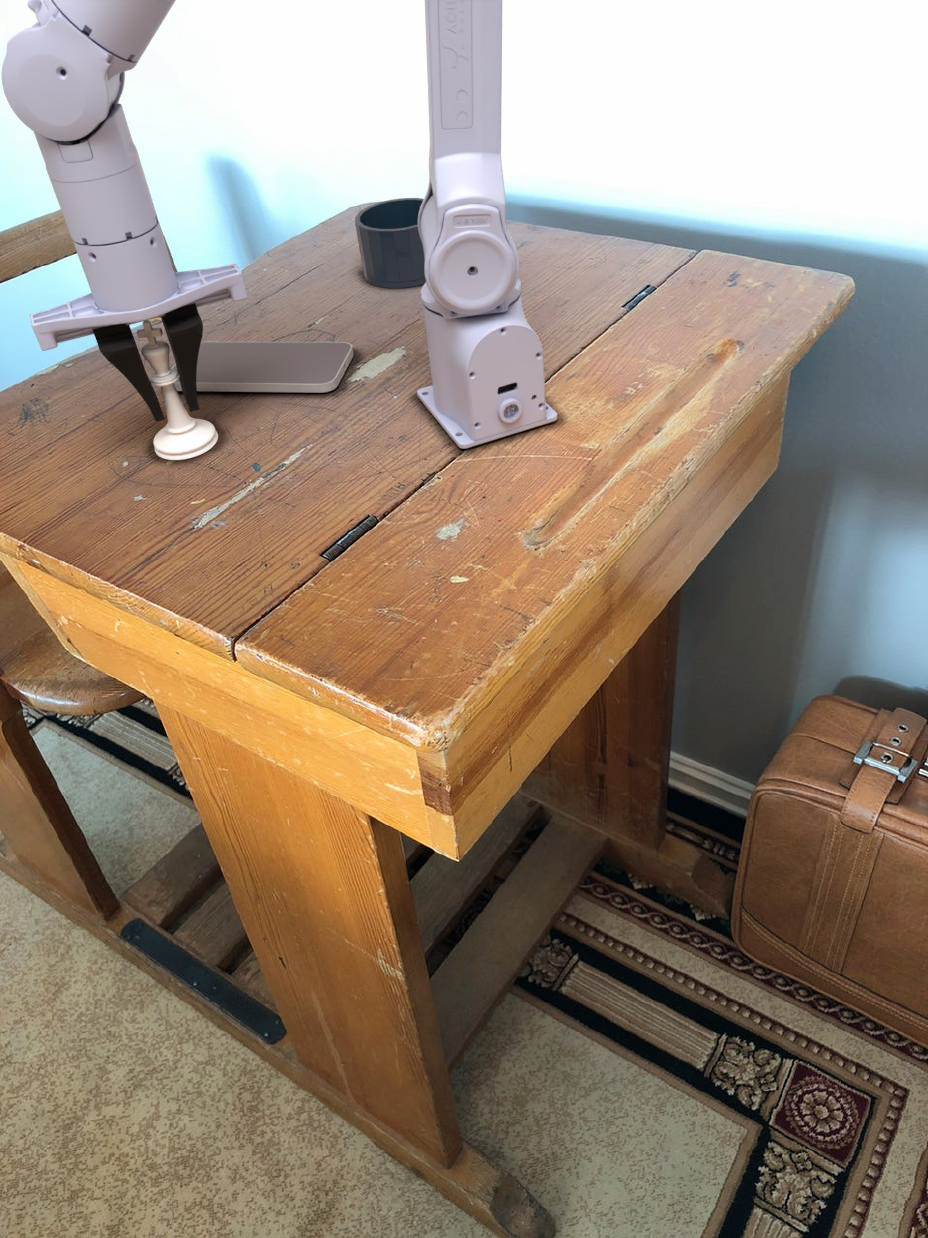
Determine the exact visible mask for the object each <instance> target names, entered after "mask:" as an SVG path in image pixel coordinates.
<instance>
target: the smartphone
mask: <svg viewBox="0 0 928 1238" xmlns="http://www.w3.org/2000/svg"><path fill="white" fill-rule="evenodd" d="M354 355H355V353H354V349H353V345H352V344H351V343H350V342H347V341H201V344H200V349H199V354H198V361H197V374H196V387H197V392H231V393H233V392H234V393H235V392H239V393H240V392H241V393H313V394H314V393H315V394H316V393H319V394H320V393H321V394H322V393H329V392H331V391H334V390H335V389H337V387H339V384H340V382H341V380H342V379H343V377H344V375H345V373H346V372H347V369H348V367H349V365H350V364H351V361H352V360H353V357H354ZM171 369H174V370H176V371H177V367H176V363H174V364H173V366H172V367H171ZM177 372H178V371H177ZM174 385H175V387H176V390H177V392H183V391H182V388H181V384H180V380H179V379H178V380H177V381H176V382H174Z"/></svg>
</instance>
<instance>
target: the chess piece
mask: <svg viewBox="0 0 928 1238" xmlns="http://www.w3.org/2000/svg"><path fill="white" fill-rule="evenodd" d="M141 324H142V327H143V328H142V329H141V328H140V329H137V331H136V335H137V337H138V339H145V338H146V339H147V341H148V343H146V344H144V345H143V346H142V347H141V349H140V353H141V355H142V357H143V358H144V359H145V360H146V361H147V363H148V364H149V365H150V367H151V368H152V370H153V371H154V373H152V375H150V382H151V384H152V386H153V387H154V386H155V387H160V389H161V393H162V398H163V402H164V407H165V412H166V417H167V423H166V425H165V426H163V428H161V429H160V430H159V431H158V432H157V433H156V434H155V436H154V438H153V441H152V443H153V446H154V452H155V454H156V455H157V456H158V457H159V458H160V459H163V460H168V461H185V460H189V459H192V458H193V459H194V458H196V457H198V456H201V455H203V454H205V453H207V452H208V451H209V450H211V449H212V448H213V447H214V446H215V445H216V444H217V442H218V440H219V434H218V431H217V430H216V427H215V425H214V424H213V423H212V422H210V421H209V420H206V419H201V418H194V417H192V416H190V414H189V413H188V411H187V408H186V407H185V405H184V402H183V400H182V398H181V397H180V394H179V391H177V390H176V387H175V385H174V382H176V381H177V380H178V379H179V377H180V375H179V373H178V372H177V371H176V370H174V369H172V368H170V344H169V342H166V341H163V340H157V337H162V336H163V334H164V333H163V328H162V327H156V328H155V327H153V325H152V323H151V319H150V320H146V321H143V322H141Z"/></svg>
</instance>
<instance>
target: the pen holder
mask: <svg viewBox="0 0 928 1238" xmlns="http://www.w3.org/2000/svg"><path fill="white" fill-rule="evenodd" d="M423 200H424V198H420V197H404V198H403V197H402V198H393V199H388V200H384V201H379V202H377V203H374V204H371V205H369V206H366V207H365V208H363V209H362V210H360V211H358V213H357V214H356V215H355V216H354V223H355V224H354V225H355V231H356V236H357V243H358V248H359V253H360V261H361V266H362V272H363V276H364V279H365V280H366V281H367V282H368V283H369V284H371V285H373V286H376V287H379V288H386V289H406V288H412V287H418V286H423V285H424V284H425V282H426V279H425V274H424V265H425V257H424V250H423V244H422V241H421V238H420V235H419V231H418V214H419V210H420V206H421V204H422V202H423Z"/></svg>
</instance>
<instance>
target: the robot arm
mask: <svg viewBox="0 0 928 1238" xmlns="http://www.w3.org/2000/svg"><path fill="white" fill-rule="evenodd" d="M176 1H177V0H28V2H27V7H28V8H29V9H30V11H32V12H33V13H34V14H35V17H36V20H37V22H35V24H33V25H32V26H31V27H28V28H25V29H23V30H21V31H19V32H17V33H16V34H14V35H13V36H12V37H11V38H10V39H8V41H7V43H6V53H5V56H4V59H3V62H2V66H1V85H2V89H3V92H4V93H3V94H4V95H5V96H4V97H5V99H6V101H7V104H9V107H10V108H11V110H12V111H13V113H14V114H15V115H16V117H17V118H18V119H19V120H20V121H21V122H22V123H23V125H25V126H26V127H27V128H28V129H30V130H31V131H33V134H34V137H35V139H36V142H37V145H38V149H39V150H40V153H41V156H42V158H43V161H44V164H45V170H46V173H47V175H48V178H49V180H50V184H51V186H52V189H53V192H54V195H55V197H56V200H57V202H58V205H59V208H60V211H61V213H62V216H63V219H64V221H65V225H66V228H67V230H68V232H69V235H70V237H71V240H72V243H73V245H74V248H75V251H76V253H77V257H78V259H79V262H80V264H81V267H82V270H83V272H84V275H85V278H86V281H87V283H88V287H89V290H90V292H89V293H86V294H84V295H81V296H79V297H76V298H74V299H71V300H69V301H67V302H64V303H61V304H59V305H56V306H53V307H51V308H47V309H45V310H42V311H38V312H34V313H31V314H29V320H30V326H31V328H32V330H33V333H34V335H35V338H36V340H37V342H38V344H39V347H40V349H41V351H42V352H46V351H49V350H53V349H56V348H57V347H58V346H59V344H61V343H65V342H68V341H72V340H77V339H80V338H84V337H88V336H92V335H93V336H94V338H95V341H96V343H97V344H96V345H97V347H98V350H99V352H100V353H101V354H102V356H103V357H104V358H105V359H106V360H107V362H109V363H110V364H111V365H112V366H113V367H114V368H115V369H116V370H118V371H119V372H120V374H121V375H123V377H125V379H126V380H128V382H129V383H130V384H131V385H132V387H134V389H135V390H136V391H137V393H138V394H139V395H140V397H141V398H142V400H143V402H145V404H146V405H147V408H148V409H149V411H150V413H151V414H152V416H153V419H154V421H155V423H157V422H161V421H165V420H166V418H165V415H164V412H163V408H162V406H161V404H160V401H159V398H158V396H157V393H156V391H155V388H154V385H152V384H151V379H150V378H149V375H148V373H147V371H146V368H145V366H144V363H143V360H142V357H141V354H140V351H139V348H138V345H137V343H136V339H135V338H134V335H133V332H132V329H131V325H134V324H139V323H143V321H146V320H150V321H151V320H154V319H158V318H160V319H161V323H162V325H163V328H164V331H165V334H166V338H167V341H168V344H169V347H170V350H171V352H172V355H173V359H174V362H175V363H174V364H176V367H177V371H178V373H179V375H180V377H179V380H180V384H181V388H182V391H181V392H182V394H183V397H184V400H185V404H186V405H187V407H188V409H189V412H190V413H193V412H198V411H199V410H200V405H199V400H198V391H197V387H196V374H197V361H198V354H199V349H200V344H201V342H202V339H203V335H204V323H203V320H202V317H201V316H200V313H199V310H198V308H201V307H205V306H208V305H212V304H217V303H220V302H224V301H228V300H231V301H233V302H239V301H243V300H247V299H248V293H247V290H246V289H247V288H246V285H245V281H244V278H243V277H244V276H243V273H242V271H241V270H240V268H239V267H238V265H237V264H236V263H231V264H226V265H222V266H215V267H210V268H209V267H208V268H201V269H193V270H192V269H191V270H184V271H174V267H173V263H172V260H171V258H170V257H171V256H170V254H169V251H168V247H167V244H166V241H165V238H164V237H165V236H164V234H163V230H162V228H161V227H162V226H161V224H160V221H159V218H158V214H157V211H156V208H155V204H154V201H153V198H152V195H151V191H150V188H149V184H148V181H147V178H146V174H145V172H144V171H145V170H144V168H143V165H142V162H141V161H142V160H141V159H140V154H139V151H138V149H137V147H136V144H135V143H134V141H133V138H132V134H131V132H130V128H129V124H128V121H127V119H126V115H125V111H124V109H123V108H124V107H123V105H122V104H121V103H120V99H121V97H122V94H123V92H124V88H125V83H126V72H128V71H130V70H133V69H134V68H135V67H136V66H137V65H138V63H139V62H140V59H142V57H143V55H144V54H145V51H146V50H147V48H148V47H149V45H150V44H151V41H152V40H153V38H154V37H155V35H156V33H157V32H158V30H159V28H160V27H161V26H162V24H163V22H164V21H165V19H166V17H167V16H168V14H169V12H170V11H171V9H172V7H174V4H175V2H176ZM424 18H425V19H424V20H425V21H424V22H425V47H426V73H427V74H426V75H427V76H426V77H427V101H428V102H427V103H428V105H427V106H428V127H429V128H428V131H429V150H428V151H429V153H428V175H429V176H428V187H427V190H426V193H425V196H424V198H423V199H424V200H423V202H422V204H421V206H420V210H419V214H418V231H419V235H420V238H421V241H422V244H423V250H424V257H425V265H424V274H425V279H426V282H425V284H422V287H421V289H420V301H421V306H422V314H423V322H424V330H425V338H426V346H427V354H428V360H429V361H428V363H429V369H430V374H431V376H430V377H431V383H432V384H431V385H427V386H425V387H422V388H419V389H418V390H416V396H417V397H418V399H419V400H420V401H421V402H422V404H423V405H424V406H425V408H426V409H427V410H428V412H430V413H431V414H432V416H433V417H434V419H435V420H436V421H437V422H438V424H439V425H440V426H441V427H442V429H443V430H444V431H445V432H446V433H447V435H448V436H449V438H451V440H452V441H453V442H454V443H455V444H456V446H457V447H458V448H459V449H465V450H466V449H469V448H472V447H476V446H479V445H483V444H485V443H489V442H492V441H495V440H498V439H502V438H505V437H507V436H512V435H515V434H518V433H521V432H524V431H527V430H530V429H534V428H537V427H541V426H543V425H548V424H550V423H554V422H556V421H557V420H558V412H556V411H555V409H553V407H551V406H550V405H549V404H548V403H547V402H546V383H545V382H546V381H545V380H546V379H545V360H544V359H545V358H544V348H543V345H542V341H541V340H540V337H539V336H538V333H536V332H535V330H534V329H533V328H532V326H530V324H529V322H528V320H527V318H526V315H525V311H524V306H523V293H522V281H521V279H520V265H521V263H520V256H519V252H518V249H517V246H516V245H515V242H514V240H513V238H512V236H511V234H510V232H509V229H508V228H509V227H508V225H507V201H506V190H505V182H504V181H505V180H504V172H503V171H504V170H503V162H502V91H503V90H502V89H503V87H502V83H503V80H502V78H503V75H502V74H503V71H502V70H503V0H424Z"/></svg>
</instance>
